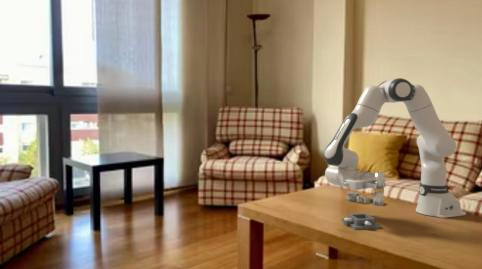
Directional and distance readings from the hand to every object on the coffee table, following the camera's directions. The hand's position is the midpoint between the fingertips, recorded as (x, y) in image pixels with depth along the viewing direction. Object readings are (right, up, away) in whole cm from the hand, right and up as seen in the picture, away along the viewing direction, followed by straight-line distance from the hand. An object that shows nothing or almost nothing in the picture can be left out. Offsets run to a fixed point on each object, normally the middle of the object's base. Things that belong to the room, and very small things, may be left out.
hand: (380, 186), depth 178 cm
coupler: (-1, -8, +2) cm, 8 cm away
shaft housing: (-8, -17, +3) cm, 19 cm away
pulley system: (+4, -14, +46) cm, 48 cm away
